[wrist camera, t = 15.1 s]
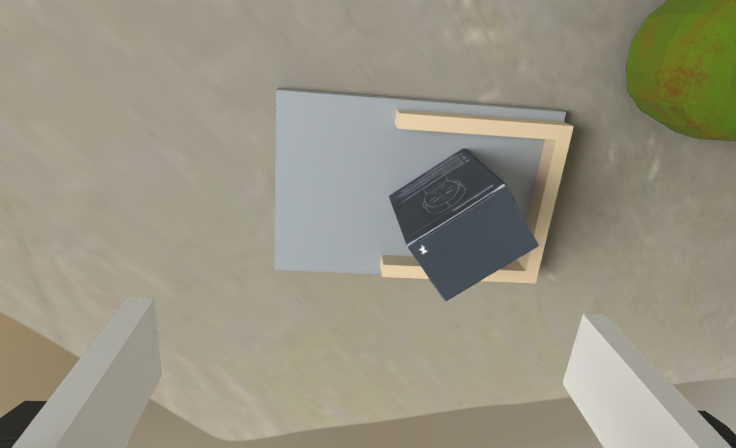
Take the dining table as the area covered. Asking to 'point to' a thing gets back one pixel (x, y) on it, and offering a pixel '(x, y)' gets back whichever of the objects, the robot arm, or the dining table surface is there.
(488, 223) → the box
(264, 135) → the dining table surface
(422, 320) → the dining table surface
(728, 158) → the dining table surface
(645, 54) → the apple
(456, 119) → the dock
